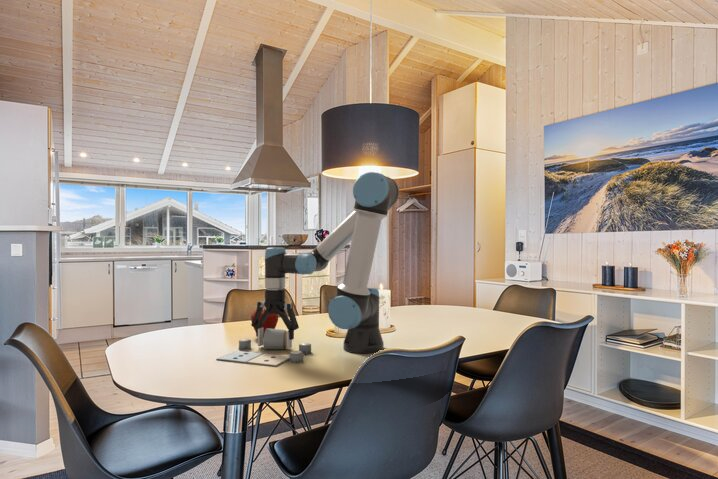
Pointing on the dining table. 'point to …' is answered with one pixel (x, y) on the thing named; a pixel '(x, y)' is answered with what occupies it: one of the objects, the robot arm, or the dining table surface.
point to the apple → (267, 321)
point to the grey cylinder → (275, 339)
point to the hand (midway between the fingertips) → (274, 347)
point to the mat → (255, 358)
